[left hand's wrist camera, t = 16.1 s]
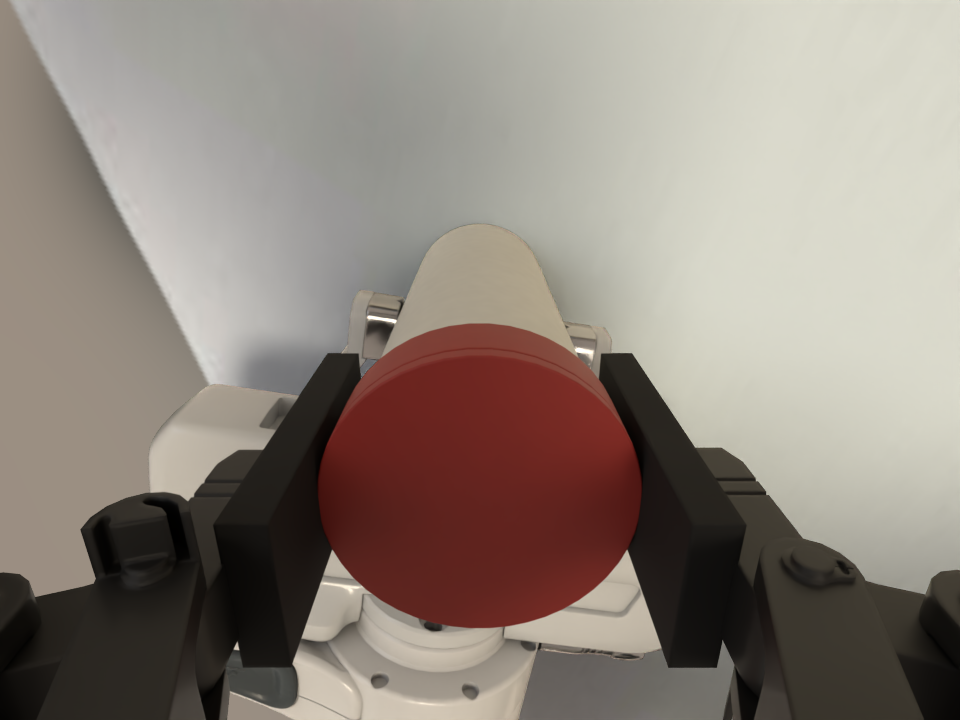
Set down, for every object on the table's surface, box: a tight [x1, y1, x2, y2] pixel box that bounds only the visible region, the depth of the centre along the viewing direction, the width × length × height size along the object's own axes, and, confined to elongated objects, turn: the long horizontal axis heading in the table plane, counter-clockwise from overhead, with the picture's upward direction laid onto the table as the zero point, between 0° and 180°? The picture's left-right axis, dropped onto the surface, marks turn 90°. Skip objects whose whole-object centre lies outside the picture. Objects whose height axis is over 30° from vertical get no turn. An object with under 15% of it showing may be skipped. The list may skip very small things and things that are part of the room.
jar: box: [381, 224, 579, 358], centre depth 18 cm, size 5×5×15 cm
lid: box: [317, 323, 642, 628], centre depth 11 cm, size 6×6×2 cm
